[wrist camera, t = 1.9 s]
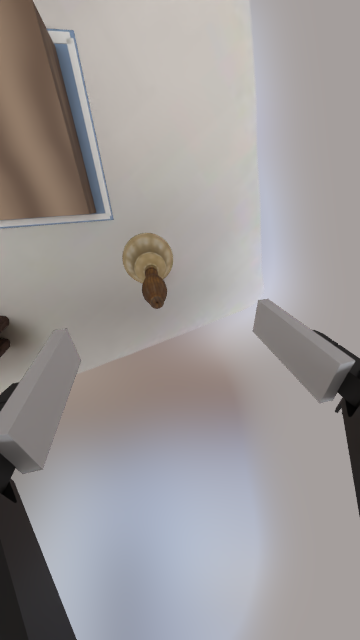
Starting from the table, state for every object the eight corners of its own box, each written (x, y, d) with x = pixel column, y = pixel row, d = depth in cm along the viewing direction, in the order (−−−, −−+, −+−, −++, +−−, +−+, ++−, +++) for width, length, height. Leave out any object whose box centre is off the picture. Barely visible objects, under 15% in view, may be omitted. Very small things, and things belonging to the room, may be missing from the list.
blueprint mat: (-31, 230, 24) (-35, 231, 24) (-152, 21, 16) (-163, 14, 15) (113, 219, 27) (113, 219, 26) (75, 35, 19) (73, 29, 18)
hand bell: (159, 291, 34) (176, 347, 21) (113, 270, 31) (97, 321, 17) (182, 248, 31) (219, 280, 18) (134, 220, 28) (135, 233, 14)
